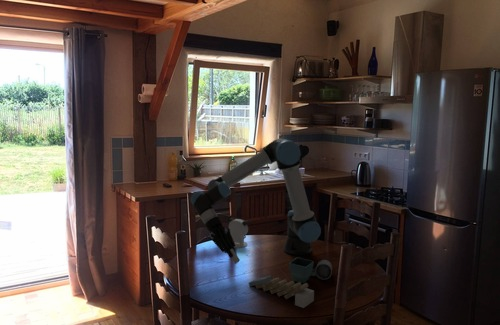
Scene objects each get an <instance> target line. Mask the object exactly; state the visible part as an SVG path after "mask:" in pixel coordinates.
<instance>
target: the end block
mask: <svg viewBox="0 0 500 325" xmlns="http://www.w3.org/2000/svg"><path fill="white" fill-rule="evenodd" d="M314 301H315V290H313V289H310V288H308V287H307V288H305V289H304V290H302V291H300V292H298V293H297V294H295V295H294V306H297V307H300V308H302V309H304V308H306V307H307V306H309V305H310V304H312V303H314Z"/></svg>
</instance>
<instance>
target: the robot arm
mask: <svg viewBox="0 0 500 325" xmlns="http://www.w3.org/2000/svg"><path fill="white" fill-rule="evenodd" d="M300 158H301V149H300V147H299V144H297V143H296V142H294V141H293V140H290V139H286V138H281V137H280V138H277V139H274V140H272V141H271V142H269V143H268V144H266V145H265V146H263V147H262V148H261V149H260V151H259V152H258V153H256V154H254V155H252V156H251V157H250V158H248V159H245V160H244V161H243V162H241V163H240V164H237V165H236V166H235V167H234V168H231V169H230V170H228V171H226V172H225V173H224V174H221V175H220V176H219V177H217V178H216V179H211V180H210V181H209V182H208V183H207V190H206V191H205V192H203V191H202V190H198V191H196V192H194V193H193V194H192V195H191V196H190V198H189V201H190V202H191V205H192V207H193V208H194V210H195V212H196V213H197V215H198V217H199V218H200V219H201V221H202V223H203V224H204V225H205V228H206V229H207V231H208V232H210V234H209V236H208V239H209V240H211V241H212V242H213V243H214V245H215V246H216V247H217V248H218V249H219V250H220V252H222V253H225V254H227V256H228V257H229V258H230V259H231V260H232V262H233V264H234V265H237V264H238V263H239V262H241V260H240V258H239V256H238V253H237V251H236V250H235V248H234V247H235V243H234V241H233V238H232V236H231V233H230V229H229V227H228V228H225V226H223V223H222V220H221V218H220V217H219V216H218V214H217V212H216V211H215V209H214V208H213V206H215V205H217V204H218V203H220V202H221V201H222V200H224V199H225V198H227V197H228V196H230V195H231V194H232V190H231V187H233V186H235V185H236V184H237V183H238V184H239V182H241V181H242V180H244V179H246V178H247V177H249V176H250V175H252V174H254V173H255V172H258V171H259V170H261V169H262V168H263V167H265V166H267V165H268V164H269V165H272V164H273V163H275V162H276V165H277V168H278V171H281V172H282V175H283V179H284V182H285V186H286V190H287V194H288V197H289V202H290V205H291V208H292V209H291V210H289V211H287V236H286V239H285V242H284V245H283V251H284V252H285V253H286V254H289V255H294V256H306V255H309V254H311V252H312V245H311V243H314V242H315V241H317V240H318V239H319V237H320V236H321V234H322V233H321V231H322V229H321V226H320V224H319V223H318V222H317V219H316V215H315V212H314V211H312V210H311V209H310V208H311V207H310V204H309V200H308V197H307V193H306V192H307V191H306V190H305V184H304V181H303V178H302V177H303V176H302V174H301V170H300V166H301V164H302V162H301V159H300Z"/></svg>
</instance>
